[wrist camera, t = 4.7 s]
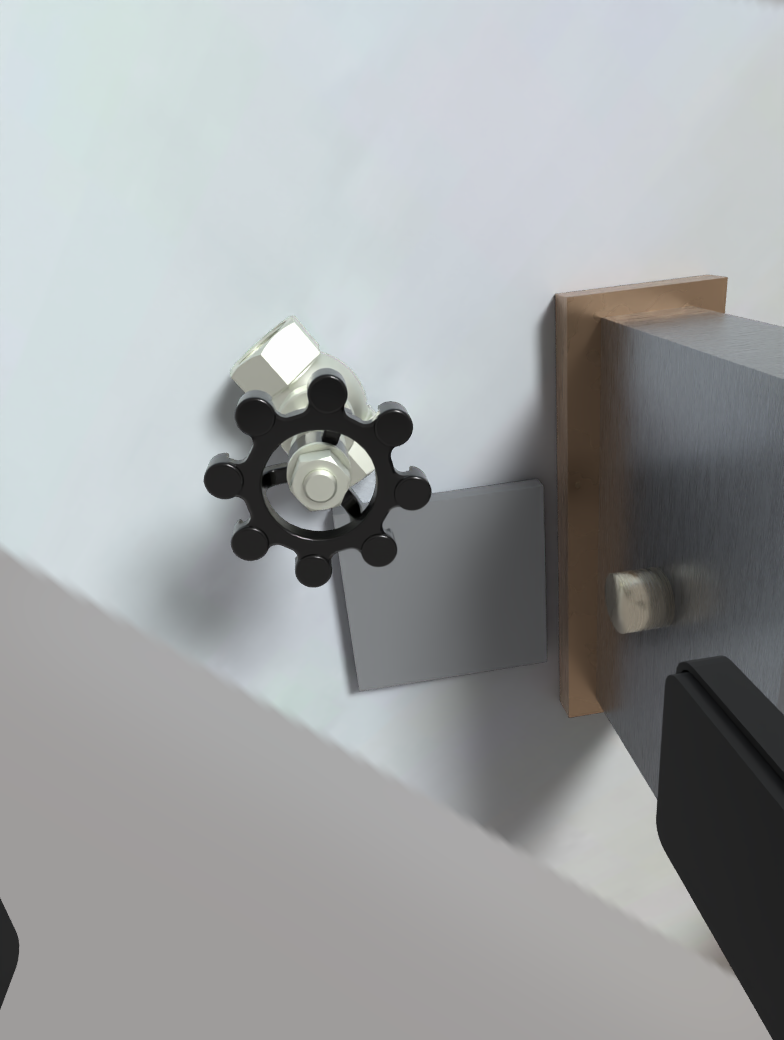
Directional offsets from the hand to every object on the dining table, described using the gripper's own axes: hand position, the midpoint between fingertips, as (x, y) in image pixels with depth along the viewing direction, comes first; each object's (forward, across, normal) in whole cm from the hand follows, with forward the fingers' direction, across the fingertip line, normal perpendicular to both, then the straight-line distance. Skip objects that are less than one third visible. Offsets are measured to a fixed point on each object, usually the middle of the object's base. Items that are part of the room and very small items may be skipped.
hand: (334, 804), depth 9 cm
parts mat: (+24, -5, +11) cm, 27 cm away
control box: (+24, -15, +8) cm, 29 cm away
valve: (+24, 0, 0) cm, 24 cm away
